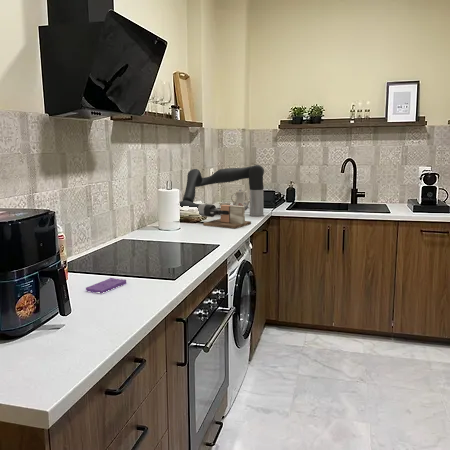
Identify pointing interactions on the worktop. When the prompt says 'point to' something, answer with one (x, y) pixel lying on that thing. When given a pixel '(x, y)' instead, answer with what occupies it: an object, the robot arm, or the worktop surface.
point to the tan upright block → (224, 217)
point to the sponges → (106, 285)
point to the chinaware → (238, 199)
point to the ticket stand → (231, 219)
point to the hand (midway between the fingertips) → (230, 212)
